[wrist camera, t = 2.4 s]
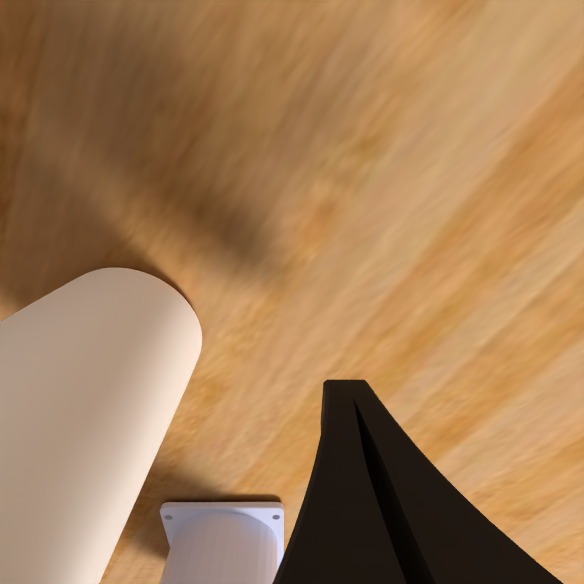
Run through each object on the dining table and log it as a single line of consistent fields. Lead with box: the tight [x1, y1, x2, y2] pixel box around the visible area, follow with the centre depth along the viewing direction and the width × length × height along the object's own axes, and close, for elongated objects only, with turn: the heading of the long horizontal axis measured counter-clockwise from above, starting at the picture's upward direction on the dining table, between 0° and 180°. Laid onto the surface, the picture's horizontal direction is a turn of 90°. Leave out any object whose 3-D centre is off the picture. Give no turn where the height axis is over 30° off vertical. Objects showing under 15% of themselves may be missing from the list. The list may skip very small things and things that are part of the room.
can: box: [0, 268, 202, 584], centre depth 9 cm, size 6×6×12 cm
